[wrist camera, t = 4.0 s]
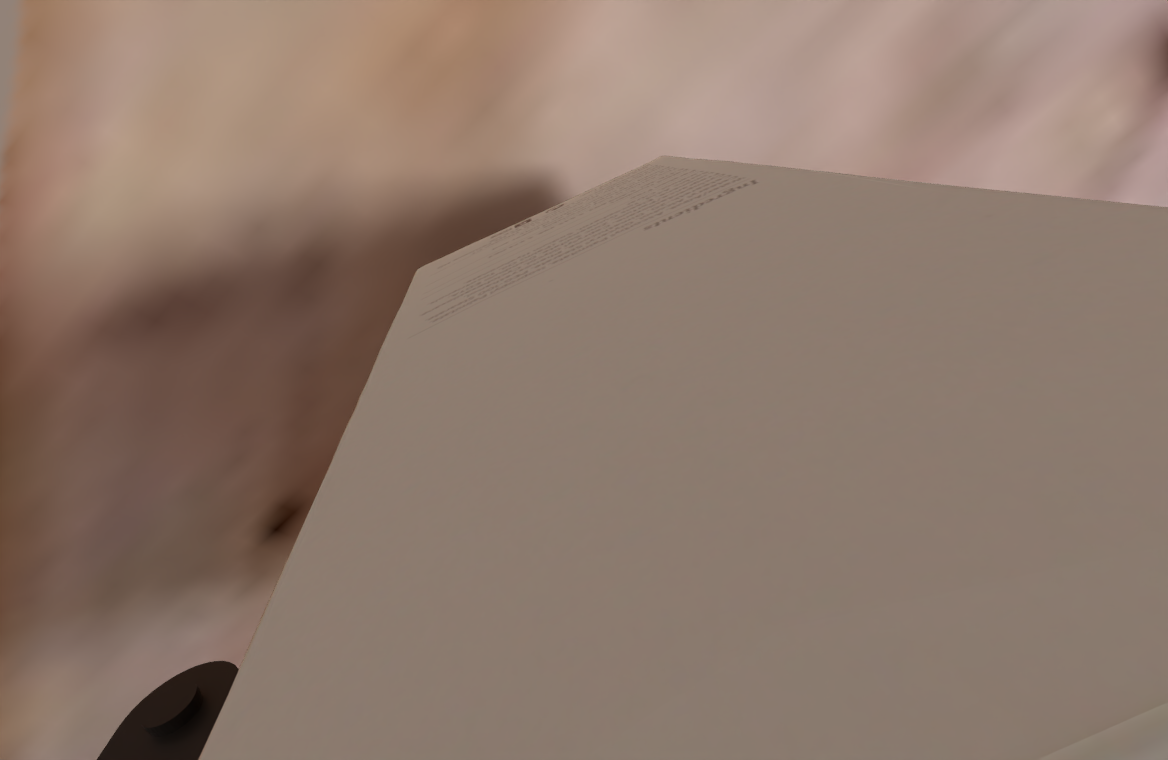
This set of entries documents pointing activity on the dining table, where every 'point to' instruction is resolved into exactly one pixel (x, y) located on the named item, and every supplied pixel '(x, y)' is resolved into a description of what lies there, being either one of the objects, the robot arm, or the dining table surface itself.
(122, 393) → the dining table surface
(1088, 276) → the small box
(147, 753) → the robot arm
